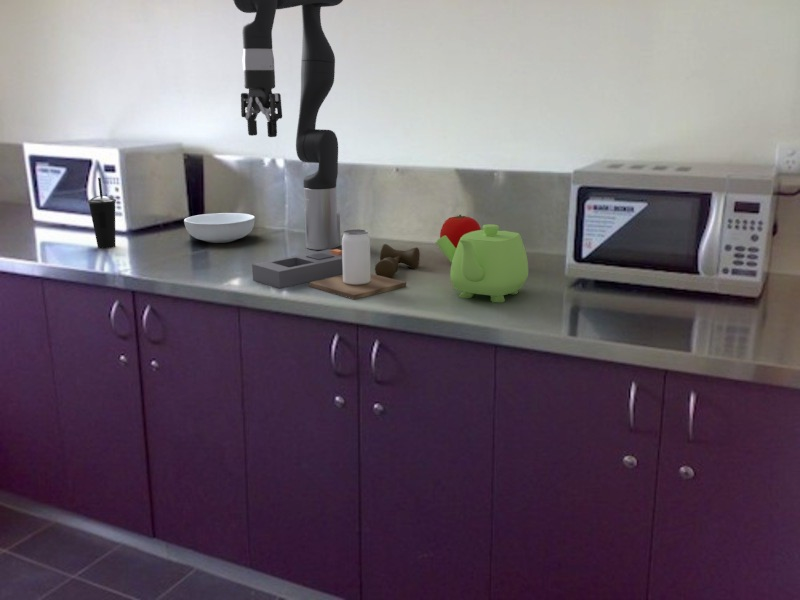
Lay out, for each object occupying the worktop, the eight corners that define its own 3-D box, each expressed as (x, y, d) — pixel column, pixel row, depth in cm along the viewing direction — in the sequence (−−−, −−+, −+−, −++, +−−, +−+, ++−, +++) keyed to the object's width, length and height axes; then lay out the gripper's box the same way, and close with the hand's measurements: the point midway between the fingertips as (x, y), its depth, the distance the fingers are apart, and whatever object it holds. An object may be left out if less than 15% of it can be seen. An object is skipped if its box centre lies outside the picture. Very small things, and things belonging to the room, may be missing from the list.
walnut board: (360, 274, 195) (360, 270, 195) (405, 286, 184) (405, 282, 184) (309, 286, 184) (309, 282, 184) (354, 299, 173) (353, 295, 173)
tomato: (487, 266, 203) (488, 217, 199) (447, 269, 200) (448, 219, 197) (472, 257, 213) (473, 210, 210) (434, 259, 211) (435, 212, 207)
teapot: (456, 277, 193) (457, 212, 188) (540, 288, 182) (543, 220, 178) (405, 301, 172) (405, 229, 168) (495, 315, 161) (498, 239, 157)
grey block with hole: (330, 264, 207) (329, 246, 205) (357, 271, 199) (357, 252, 198) (252, 280, 191) (251, 260, 189) (279, 288, 183) (278, 268, 182)
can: (367, 286, 180) (366, 234, 177) (339, 284, 182) (338, 233, 178) (373, 279, 187) (372, 229, 183) (346, 278, 188) (345, 228, 184)
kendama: (365, 280, 192) (389, 260, 211) (403, 284, 190) (424, 263, 208) (365, 256, 190) (389, 238, 209) (403, 260, 188) (424, 241, 206)
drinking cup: (126, 245, 230) (119, 177, 225) (104, 250, 224) (96, 180, 219) (109, 243, 234) (102, 175, 229) (87, 247, 228) (79, 178, 223)
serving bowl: (266, 235, 246) (265, 213, 244) (238, 248, 226) (237, 225, 224) (205, 232, 250) (203, 210, 248) (172, 245, 231) (170, 222, 229)
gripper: (288, 68, 190) (291, 136, 194) (255, 69, 200) (258, 134, 204) (262, 68, 185) (266, 138, 189) (229, 68, 195) (233, 135, 199)
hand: (262, 136), depth 197 cm, fingers open, 8 cm apart
